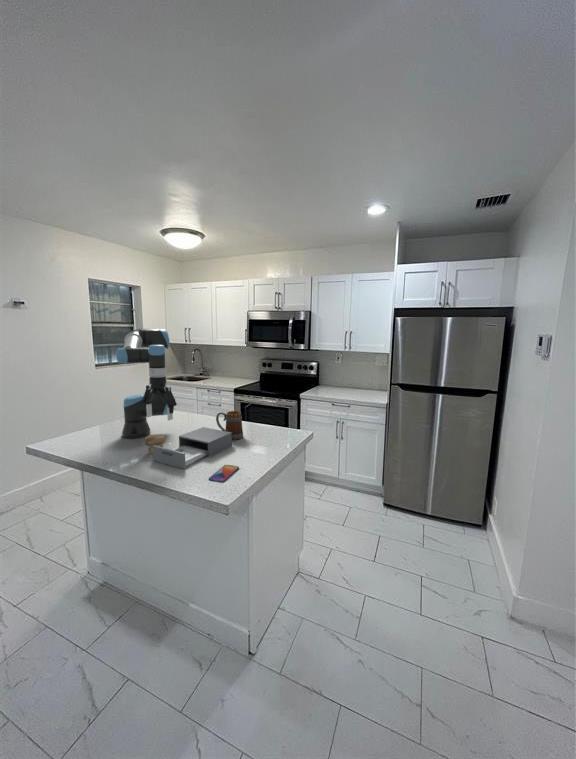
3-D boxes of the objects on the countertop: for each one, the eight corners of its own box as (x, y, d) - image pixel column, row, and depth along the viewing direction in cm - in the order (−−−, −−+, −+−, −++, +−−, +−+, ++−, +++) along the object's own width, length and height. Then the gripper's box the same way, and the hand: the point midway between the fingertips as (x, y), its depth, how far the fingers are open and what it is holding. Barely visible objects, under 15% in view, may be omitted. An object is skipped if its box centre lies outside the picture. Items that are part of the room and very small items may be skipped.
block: (148, 452, 160) (147, 443, 159) (156, 449, 164) (155, 440, 163) (155, 454, 157) (154, 445, 157) (163, 451, 162) (162, 442, 161)
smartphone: (207, 481, 131) (207, 479, 131) (225, 466, 145) (225, 464, 145) (223, 484, 129) (223, 481, 129) (239, 468, 143) (239, 466, 143)
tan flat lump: (141, 443, 158) (141, 438, 158) (156, 438, 166) (156, 433, 166) (154, 446, 154) (153, 441, 154) (168, 441, 162) (168, 435, 161)
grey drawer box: (209, 457, 155) (208, 442, 154) (179, 449, 164) (178, 435, 163) (232, 446, 171) (231, 432, 170) (203, 439, 180) (203, 427, 179)
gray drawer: (183, 469, 140) (182, 454, 139) (152, 460, 149) (151, 446, 148) (209, 456, 156) (209, 442, 155) (180, 449, 164) (180, 436, 163)
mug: (245, 435, 189) (244, 410, 187) (240, 441, 179) (240, 415, 177) (219, 434, 191) (219, 409, 189) (213, 439, 181) (213, 414, 178)
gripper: (132, 375, 158) (135, 417, 161) (172, 378, 148) (173, 423, 151) (144, 373, 165) (147, 413, 168) (183, 377, 155) (184, 419, 158)
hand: (159, 418), depth 160 cm, fingers open, 13 cm apart
